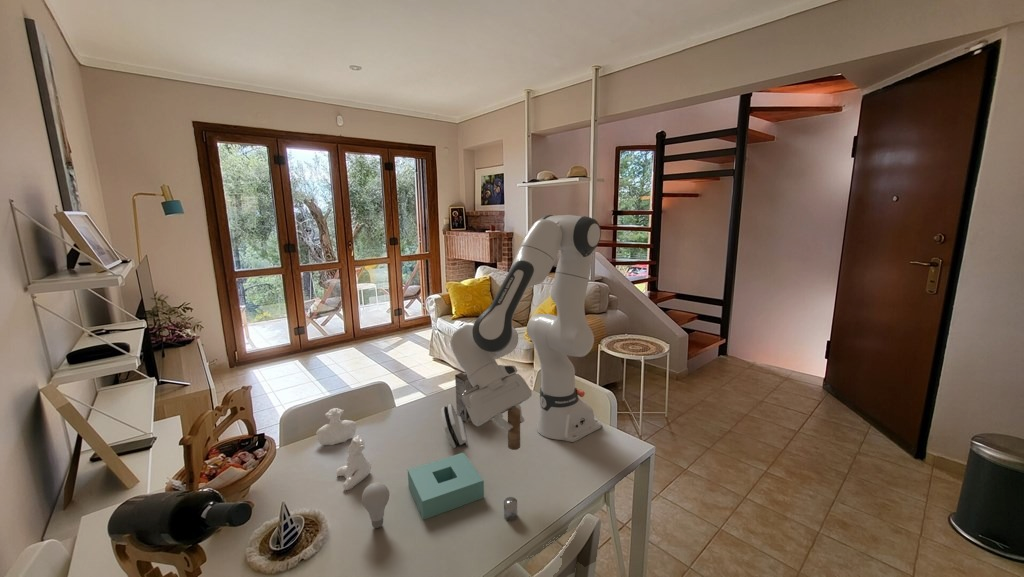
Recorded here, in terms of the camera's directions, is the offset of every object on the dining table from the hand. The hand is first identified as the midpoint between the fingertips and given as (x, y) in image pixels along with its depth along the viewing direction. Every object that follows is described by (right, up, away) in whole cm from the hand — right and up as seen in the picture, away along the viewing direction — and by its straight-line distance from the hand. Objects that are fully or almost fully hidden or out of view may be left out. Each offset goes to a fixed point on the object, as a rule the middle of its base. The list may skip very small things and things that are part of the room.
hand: (515, 426), depth 104 cm
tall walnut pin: (0, -6, +1) cm, 6 cm away
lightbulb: (-33, -21, -9) cm, 40 cm away
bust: (-58, -14, +28) cm, 66 cm away
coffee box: (-16, -11, +43) cm, 48 cm away
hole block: (-19, -18, +3) cm, 26 cm away
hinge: (-20, -13, +31) cm, 40 cm away
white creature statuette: (-45, -17, +9) cm, 49 cm away
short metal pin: (-1, -20, -6) cm, 21 cm away
